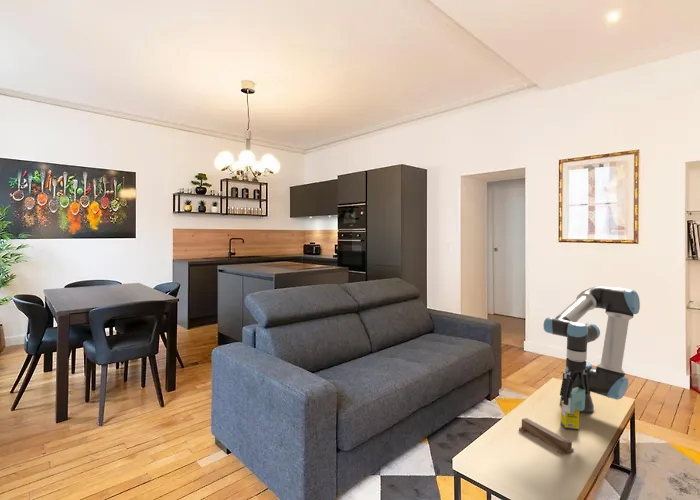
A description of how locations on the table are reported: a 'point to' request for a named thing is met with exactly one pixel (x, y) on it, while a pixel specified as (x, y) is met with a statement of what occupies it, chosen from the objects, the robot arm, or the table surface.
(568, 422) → the supplement box
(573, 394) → the slotted block
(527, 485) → the table surface
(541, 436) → the rail
